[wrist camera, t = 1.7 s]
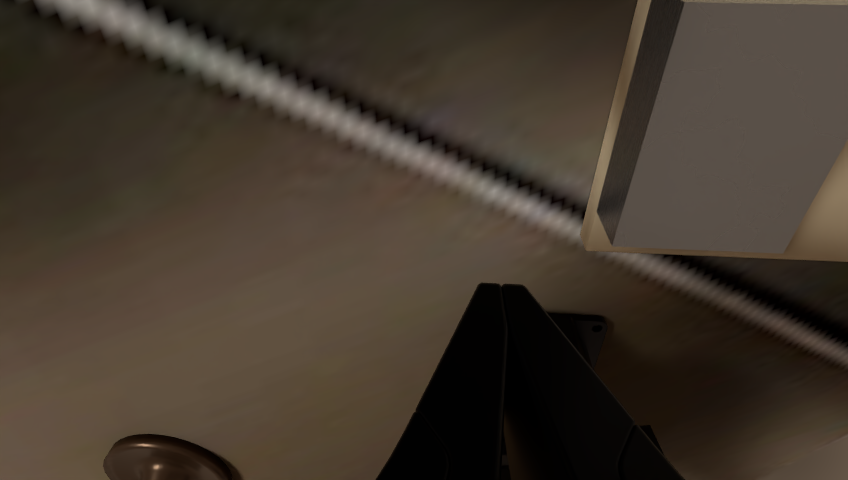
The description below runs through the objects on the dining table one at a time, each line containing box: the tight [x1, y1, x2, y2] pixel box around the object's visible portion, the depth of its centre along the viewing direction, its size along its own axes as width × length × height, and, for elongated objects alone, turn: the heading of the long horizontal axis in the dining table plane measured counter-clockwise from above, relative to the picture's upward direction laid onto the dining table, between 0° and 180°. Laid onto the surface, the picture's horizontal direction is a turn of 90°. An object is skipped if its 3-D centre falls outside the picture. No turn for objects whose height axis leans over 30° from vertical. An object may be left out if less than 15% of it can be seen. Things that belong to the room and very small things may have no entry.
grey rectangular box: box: [597, 0, 848, 254], centre depth 16 cm, size 8×6×2 cm
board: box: [580, 0, 848, 262], centre depth 16 cm, size 12×14×4 cm
